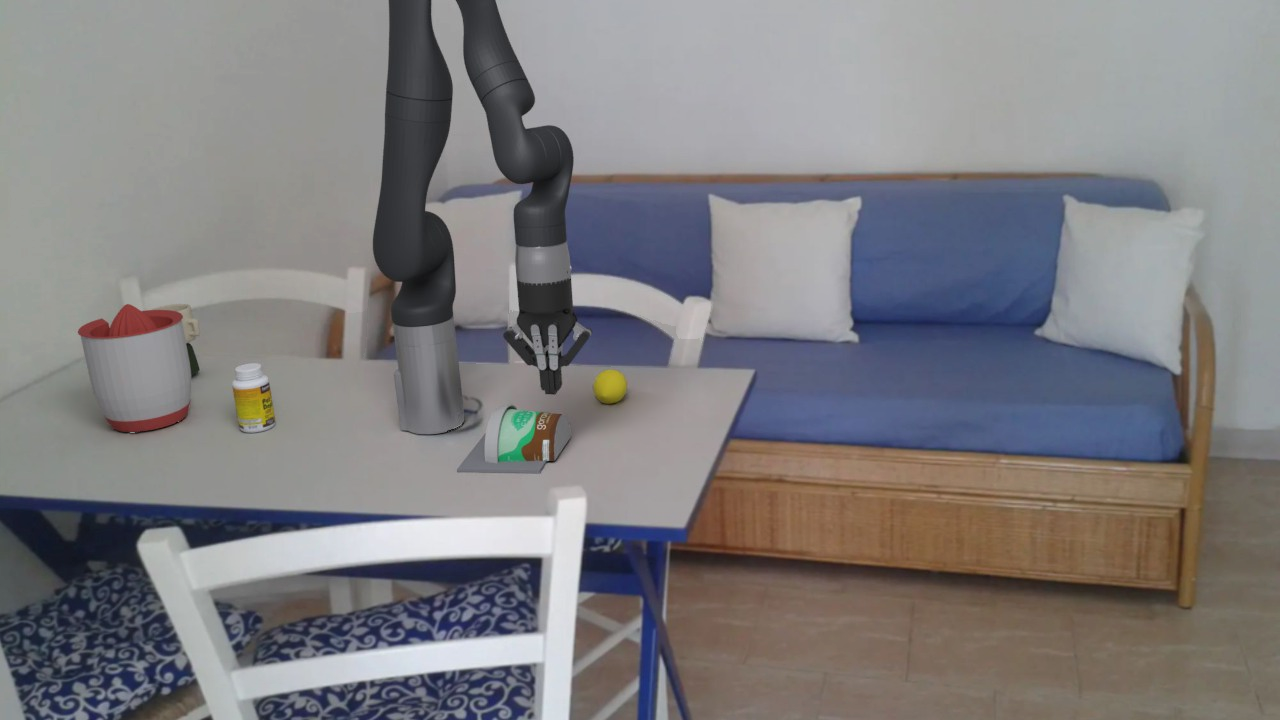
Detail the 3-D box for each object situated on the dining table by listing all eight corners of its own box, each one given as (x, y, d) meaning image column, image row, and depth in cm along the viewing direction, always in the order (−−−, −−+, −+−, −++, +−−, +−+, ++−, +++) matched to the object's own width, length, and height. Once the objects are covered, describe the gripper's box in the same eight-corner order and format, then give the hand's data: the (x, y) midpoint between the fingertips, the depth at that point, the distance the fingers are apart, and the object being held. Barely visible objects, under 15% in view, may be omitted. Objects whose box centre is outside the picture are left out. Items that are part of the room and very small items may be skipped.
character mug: (145, 381, 208) (131, 313, 204) (170, 369, 215) (157, 302, 211) (195, 384, 205) (182, 314, 201) (219, 371, 212) (207, 304, 208)
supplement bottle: (270, 433, 179) (260, 371, 176) (235, 435, 179) (224, 373, 176) (280, 420, 184) (270, 360, 181) (245, 422, 184) (235, 362, 181)
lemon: (622, 412, 181) (618, 381, 178) (589, 410, 182) (586, 380, 180) (633, 391, 187) (630, 362, 184) (602, 390, 188) (598, 361, 186)
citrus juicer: (182, 395, 199) (161, 285, 193) (212, 421, 186) (191, 303, 179) (87, 418, 190) (62, 303, 184) (111, 447, 177) (85, 323, 171)
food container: (548, 423, 157) (479, 422, 159) (551, 464, 159) (483, 463, 161) (570, 393, 169) (506, 392, 171) (573, 432, 171) (510, 430, 173)
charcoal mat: (457, 471, 160) (456, 469, 160) (490, 429, 175) (489, 427, 175) (539, 473, 158) (539, 470, 158) (566, 430, 173) (565, 428, 173)
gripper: (489, 281, 154) (499, 400, 160) (584, 281, 152) (591, 402, 157) (505, 268, 161) (514, 383, 167) (596, 267, 159) (602, 384, 164)
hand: (552, 392), depth 162 cm, fingers closed
